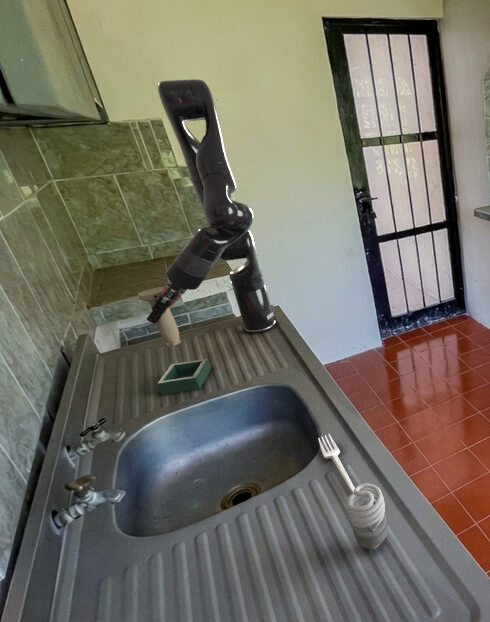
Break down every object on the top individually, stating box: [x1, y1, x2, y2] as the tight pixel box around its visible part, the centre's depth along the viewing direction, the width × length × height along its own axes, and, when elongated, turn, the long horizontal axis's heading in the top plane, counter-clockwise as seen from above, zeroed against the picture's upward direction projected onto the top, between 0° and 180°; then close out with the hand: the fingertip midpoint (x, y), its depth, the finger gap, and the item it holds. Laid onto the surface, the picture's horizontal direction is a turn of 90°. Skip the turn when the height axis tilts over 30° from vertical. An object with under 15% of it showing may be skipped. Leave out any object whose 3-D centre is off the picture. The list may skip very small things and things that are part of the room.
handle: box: [137, 286, 182, 348], centre depth 115 cm, size 5×6×15 cm
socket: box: [156, 358, 212, 395], centre depth 122 cm, size 10×9×4 cm
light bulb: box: [346, 482, 389, 549], centre depth 72 cm, size 6×6×12 cm
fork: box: [317, 433, 356, 497], centre depth 91 cm, size 3×20×2 cm, turn 36°
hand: (154, 317), depth 114 cm, fingers closed on handle, 3 cm apart
